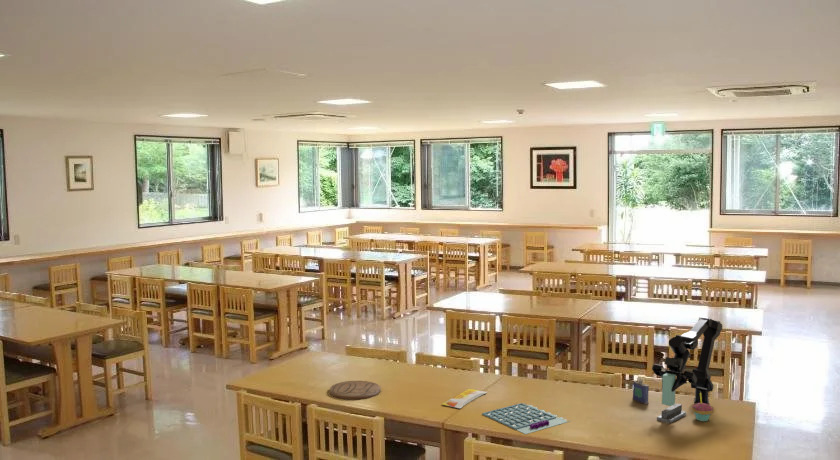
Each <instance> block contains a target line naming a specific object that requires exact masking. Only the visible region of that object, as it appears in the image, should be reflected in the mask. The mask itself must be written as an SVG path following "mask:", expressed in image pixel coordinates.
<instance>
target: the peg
mask: <svg viewBox="0 0 840 460" xmlns="http://www.w3.org/2000/svg"><path fill="white" fill-rule="evenodd" d="M676 377H677V376H676V375H674V374H669V373H666V374H664V375H663V384H662V383H661V389H662V390H661V392H662V393H661V404H662V405H665V406H668V407H670V406H672V405H674V404H676V390H675V391H673V392H672V391H671V390H672V387H673V385H674V383H675V381H676Z"/></svg>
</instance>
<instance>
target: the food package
mask: <svg viewBox="0 0 840 460" xmlns="http://www.w3.org/2000/svg"><path fill="white" fill-rule="evenodd" d="M487 393H488V391H482V390H478V389H472V388H468V389H466V390H464V391H463V392H461V393H459V394H458V395H457V394H456V395H455V396H453V397H452V398H450V399H448V400H447V401H445V402H442V403H441V405H442V406H448V407H452V408H457V409H461V408H463V407H465V406H466V405H467V404H469V403H471V402H472V401H474V400H476V399H478V398H479V397H482V396H484V395H486V394H487Z"/></svg>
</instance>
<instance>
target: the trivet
mask: <svg viewBox="0 0 840 460" xmlns="http://www.w3.org/2000/svg"><path fill="white" fill-rule="evenodd" d="M381 389H382V387H381V386H380V385H379V384H378V383H376V382H373V381H368V380H348V381H346V380H345V381H341V382H338V383H335V384H333V385H331V386H330V387H329V395H330V396H332V397H334V398H336V399H339V400H341V399H342V400H348V401H352V400H353V401H358V400H359V401H360V400H367V399H370V398H374V397H376V396H378V395H380V393H381Z"/></svg>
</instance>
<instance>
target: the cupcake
mask: <svg viewBox="0 0 840 460" xmlns="http://www.w3.org/2000/svg"><path fill="white" fill-rule="evenodd" d="M692 411H693V413H694V415H695V419H696V421H697V420H698V421H700V422H708V421H709V418H710V416H711V415H712V414H714V411H715V410H714V407H712V405H710V403H709V404H705V403H702V396H701V392H700V403H694V404H693V405H692Z"/></svg>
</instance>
